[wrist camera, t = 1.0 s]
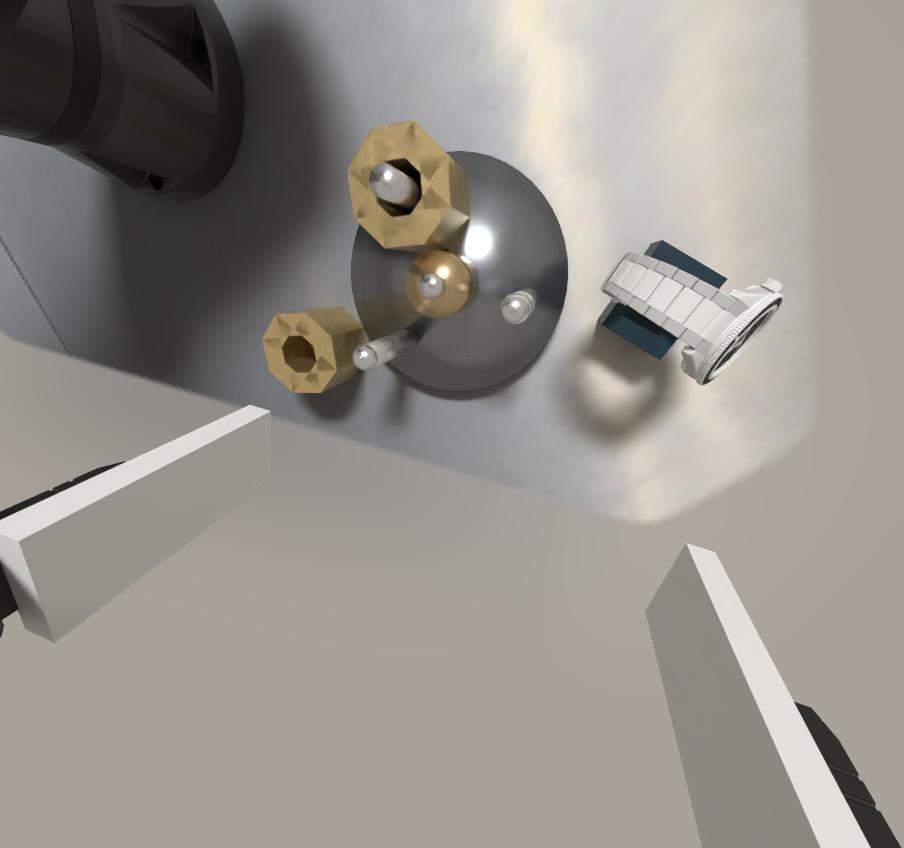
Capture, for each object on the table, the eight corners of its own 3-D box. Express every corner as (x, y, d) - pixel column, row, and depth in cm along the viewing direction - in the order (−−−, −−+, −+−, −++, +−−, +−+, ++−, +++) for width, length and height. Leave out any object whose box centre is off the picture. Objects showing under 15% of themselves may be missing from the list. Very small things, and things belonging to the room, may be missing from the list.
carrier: (325, 291, 32) (242, 299, 24) (446, 98, 25) (387, 14, 17) (465, 423, 33) (431, 474, 25) (619, 271, 26) (643, 272, 18)
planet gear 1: (292, 344, 35) (252, 355, 31) (325, 291, 32) (286, 295, 28) (342, 390, 35) (309, 408, 31) (379, 342, 33) (349, 353, 28)
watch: (674, 365, 27) (735, 418, 18) (576, 305, 28) (582, 325, 18) (737, 292, 25) (848, 306, 15) (628, 228, 25) (668, 200, 15)
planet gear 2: (370, 209, 28) (332, 197, 23) (420, 127, 25) (388, 96, 21) (431, 269, 28) (406, 268, 24) (488, 194, 25) (471, 177, 21)
